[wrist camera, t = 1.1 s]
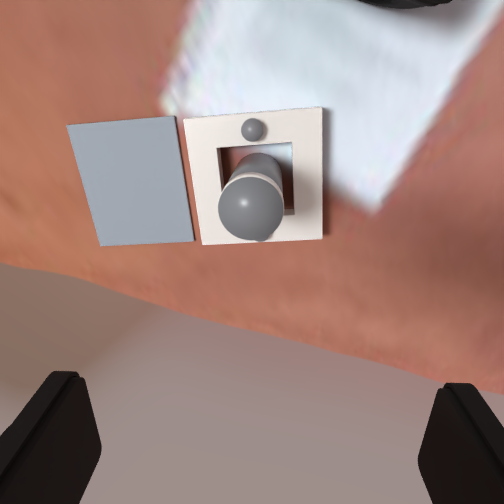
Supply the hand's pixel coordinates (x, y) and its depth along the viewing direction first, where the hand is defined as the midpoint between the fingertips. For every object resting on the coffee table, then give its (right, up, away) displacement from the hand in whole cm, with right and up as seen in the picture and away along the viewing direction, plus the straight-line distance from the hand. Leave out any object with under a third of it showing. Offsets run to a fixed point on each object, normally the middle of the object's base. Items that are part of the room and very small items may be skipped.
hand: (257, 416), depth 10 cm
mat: (-12, +11, +25) cm, 30 cm away
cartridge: (0, +11, +24) cm, 26 cm away
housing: (0, +11, +24) cm, 26 cm away
